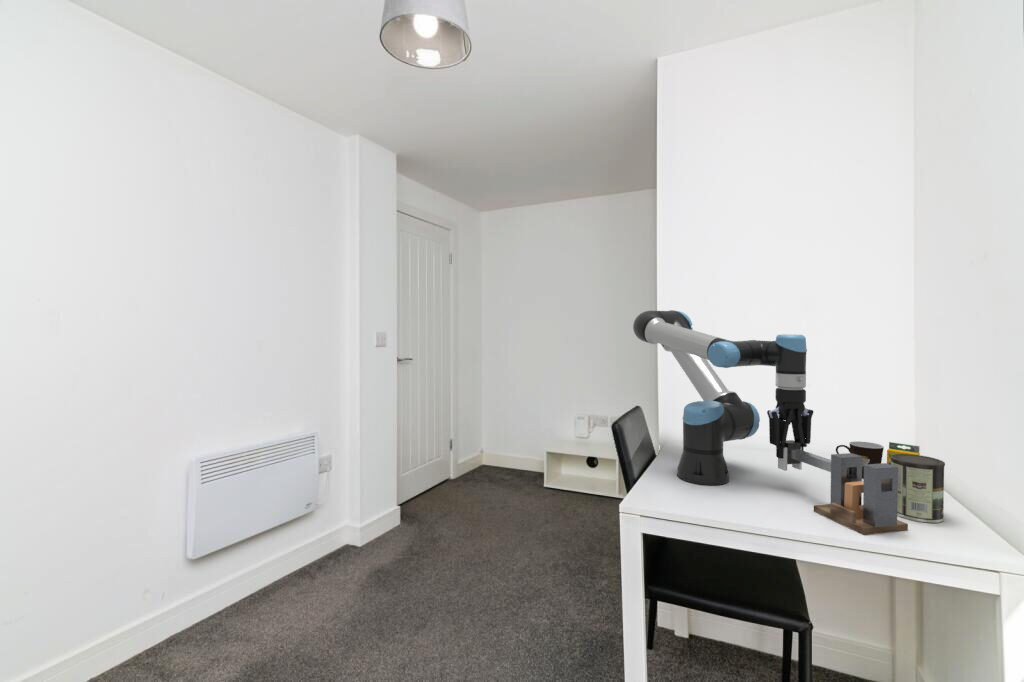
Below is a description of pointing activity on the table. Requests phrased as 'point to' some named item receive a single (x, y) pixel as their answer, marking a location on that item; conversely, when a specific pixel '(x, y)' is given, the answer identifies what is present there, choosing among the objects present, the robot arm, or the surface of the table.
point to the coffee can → (920, 487)
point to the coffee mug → (865, 452)
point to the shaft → (806, 457)
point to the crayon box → (901, 450)
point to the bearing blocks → (867, 487)
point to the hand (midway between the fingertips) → (789, 468)
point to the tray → (855, 520)
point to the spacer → (854, 497)
